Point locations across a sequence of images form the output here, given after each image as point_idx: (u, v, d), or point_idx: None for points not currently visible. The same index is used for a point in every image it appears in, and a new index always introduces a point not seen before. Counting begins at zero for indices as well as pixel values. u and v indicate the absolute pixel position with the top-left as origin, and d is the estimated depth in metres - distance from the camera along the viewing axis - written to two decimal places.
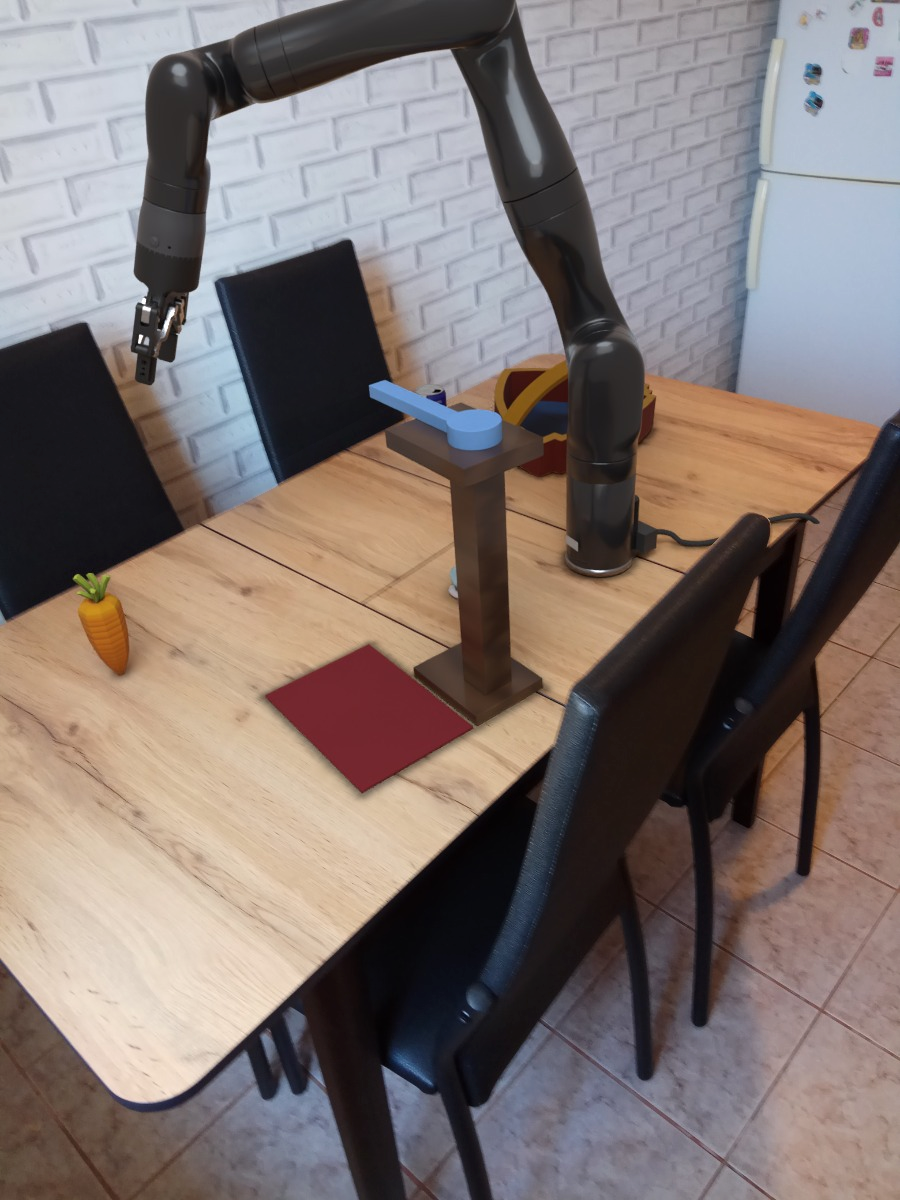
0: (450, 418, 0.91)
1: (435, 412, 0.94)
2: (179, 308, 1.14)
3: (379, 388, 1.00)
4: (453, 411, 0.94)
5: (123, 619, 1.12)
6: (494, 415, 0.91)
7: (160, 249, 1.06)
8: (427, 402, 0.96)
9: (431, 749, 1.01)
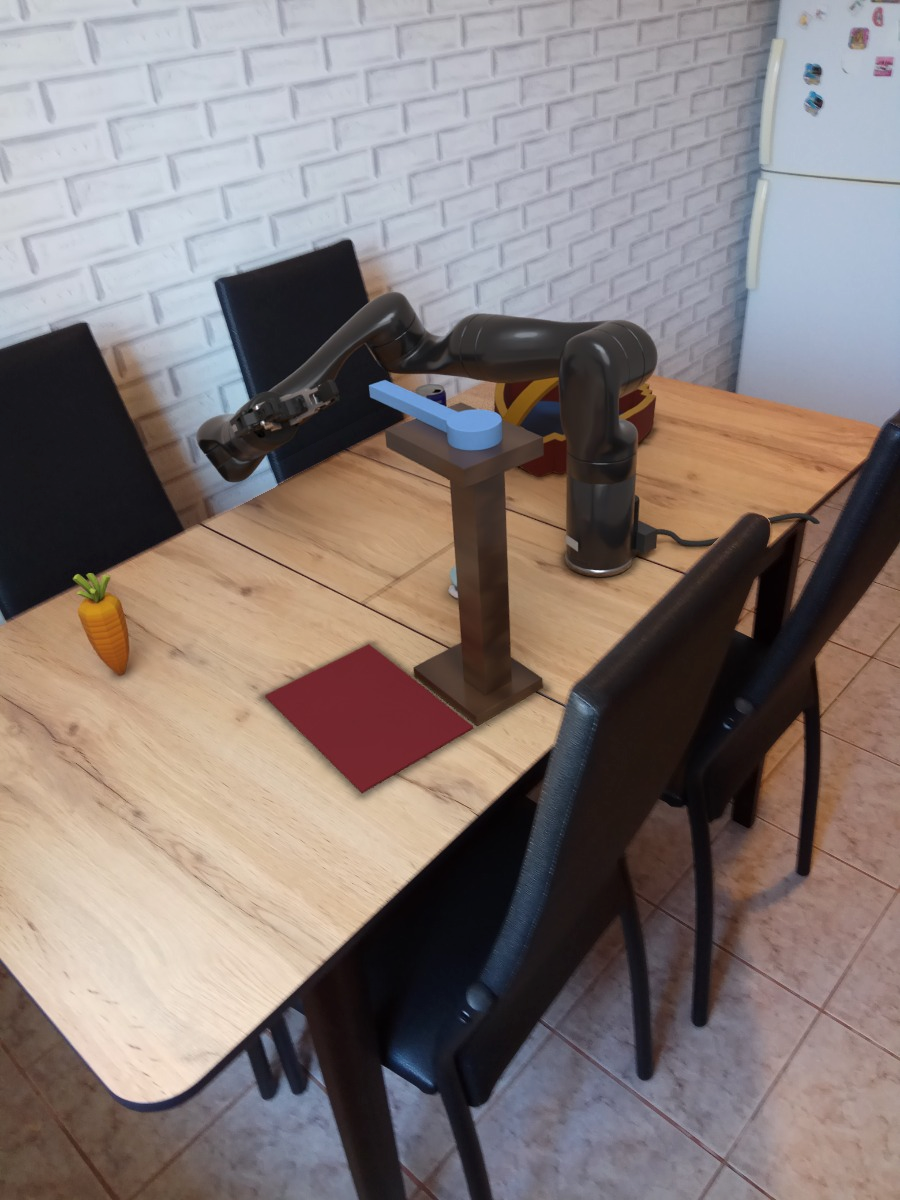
0: (450, 418, 0.91)
1: (435, 412, 0.94)
2: (282, 398, 1.25)
3: (379, 388, 1.00)
4: (453, 411, 0.94)
5: (123, 619, 1.12)
6: (494, 415, 0.91)
7: None
8: (427, 402, 0.96)
9: (431, 749, 1.01)
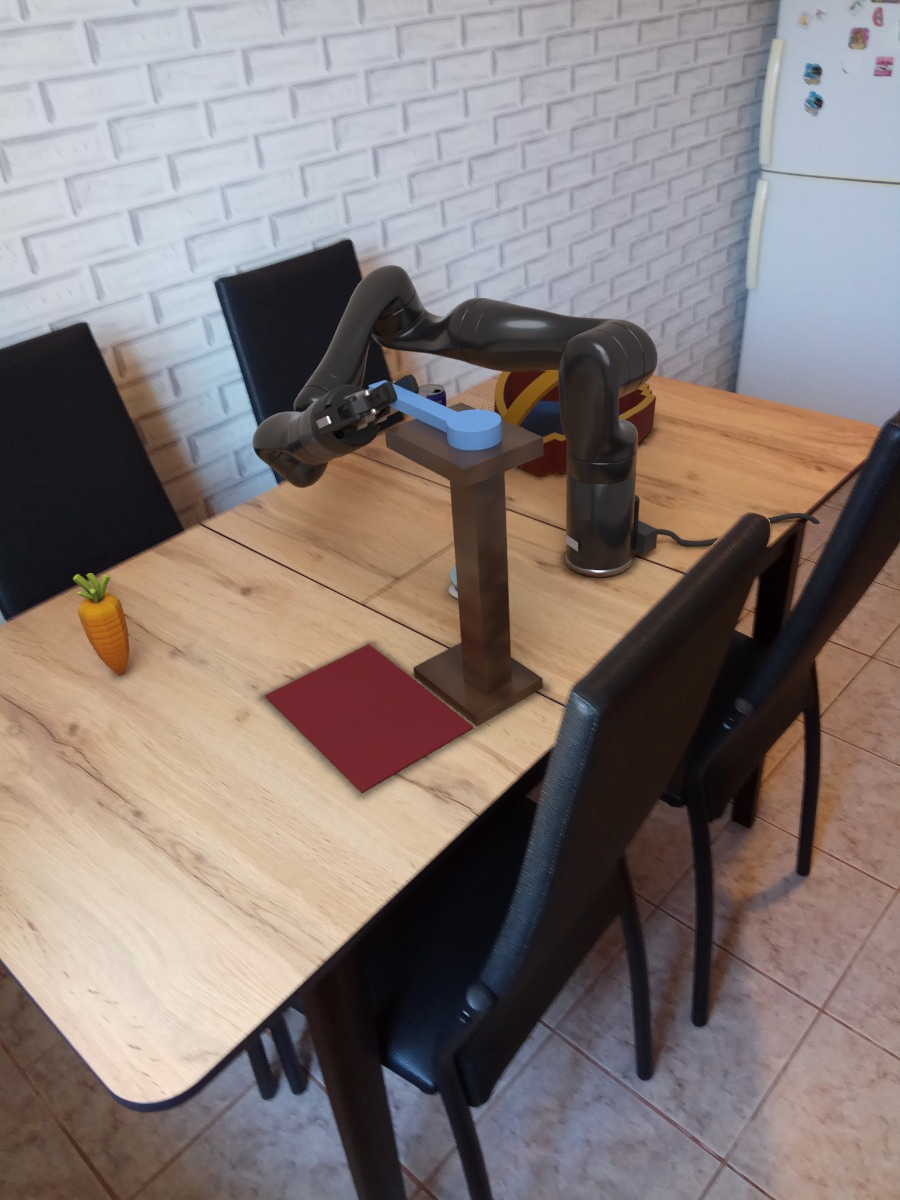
0: (450, 418, 0.91)
1: (435, 412, 0.94)
2: None
3: None
4: (453, 411, 0.94)
5: (123, 619, 1.12)
6: (493, 415, 0.91)
7: (311, 433, 1.11)
8: (427, 402, 0.96)
9: (431, 749, 1.01)
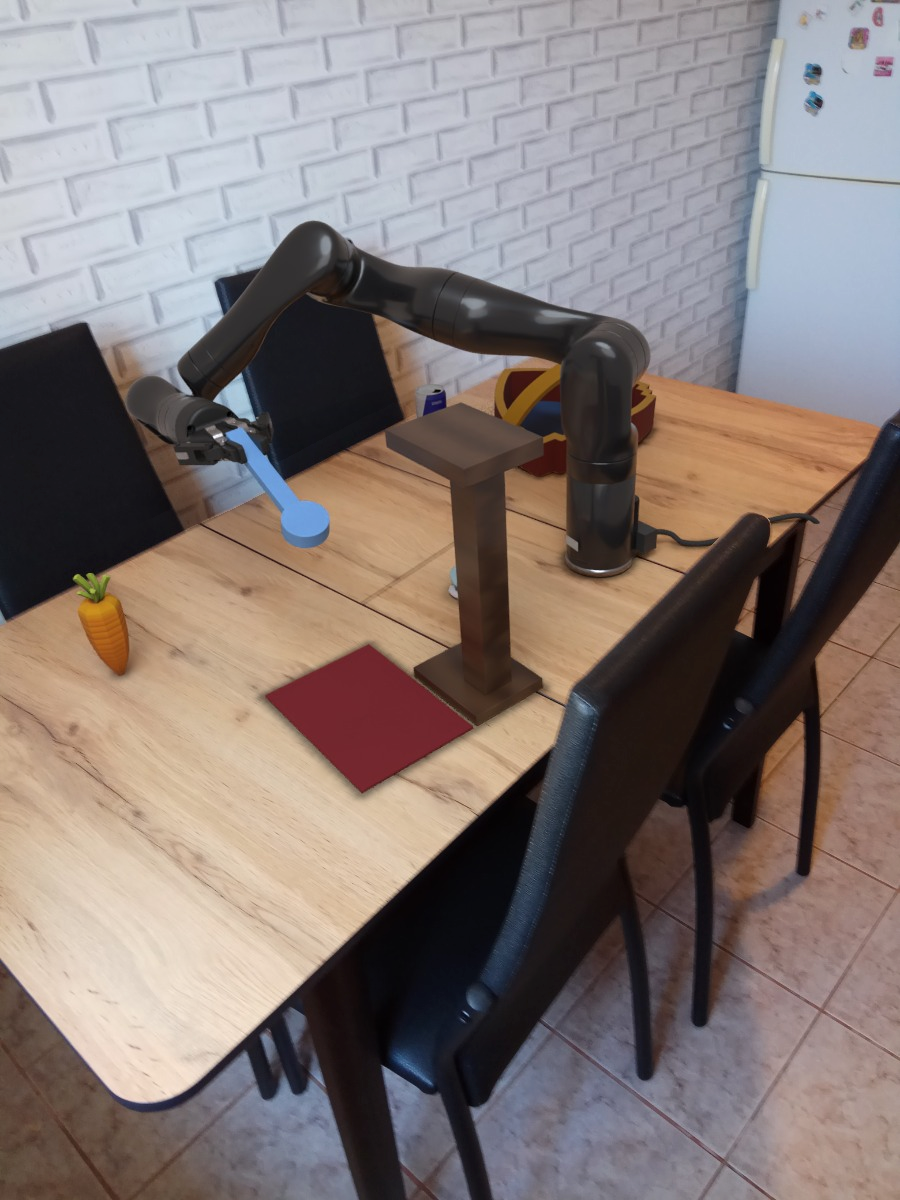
0: (285, 511, 1.04)
1: (276, 492, 1.06)
2: (223, 422, 1.16)
3: (234, 441, 1.10)
4: (292, 494, 1.06)
5: (123, 619, 1.12)
6: (324, 514, 1.04)
7: (175, 437, 1.21)
8: (272, 474, 1.08)
9: (431, 749, 1.01)
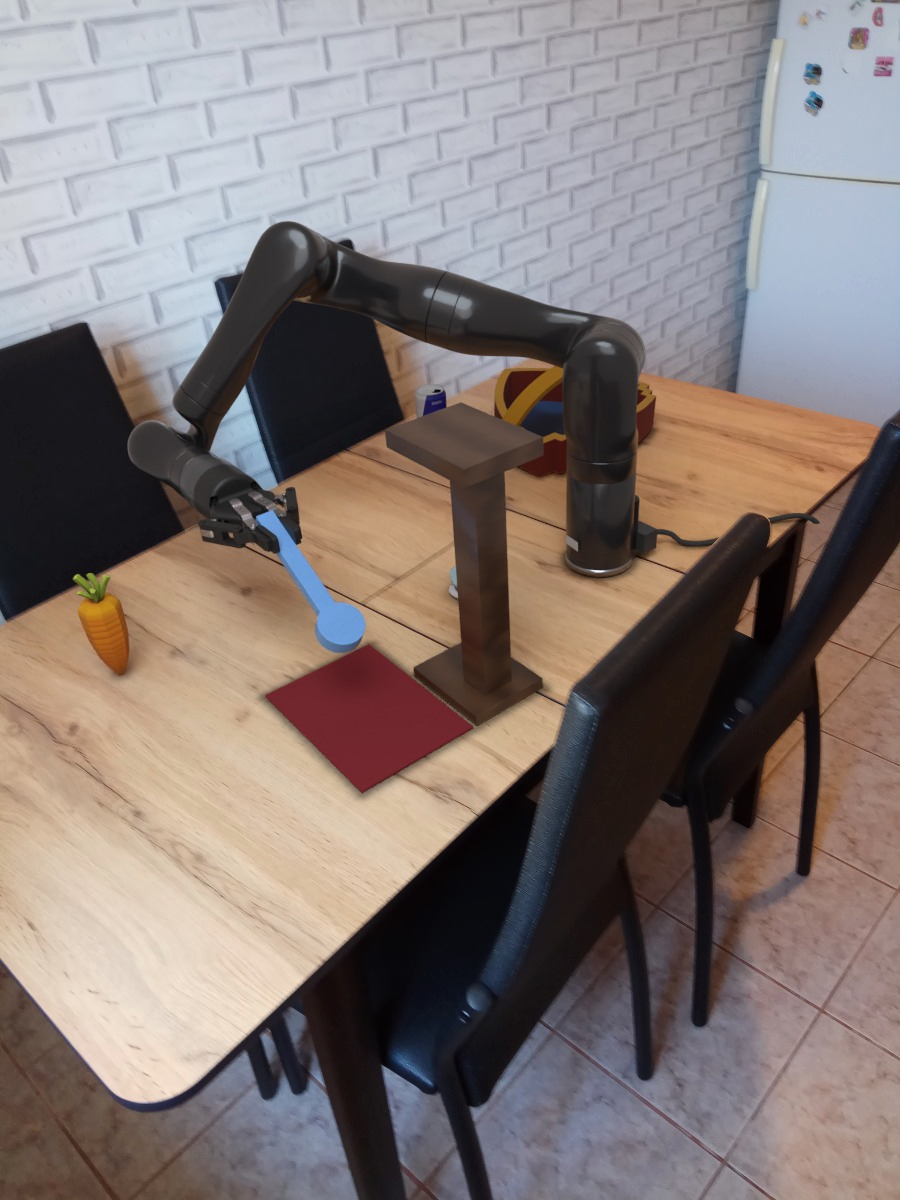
0: (321, 614, 1.03)
1: (310, 590, 1.05)
2: (249, 497, 1.12)
3: (265, 527, 1.07)
4: (326, 593, 1.05)
5: (123, 619, 1.12)
6: (360, 619, 1.04)
7: (192, 501, 1.16)
8: (305, 568, 1.06)
9: (431, 749, 1.01)
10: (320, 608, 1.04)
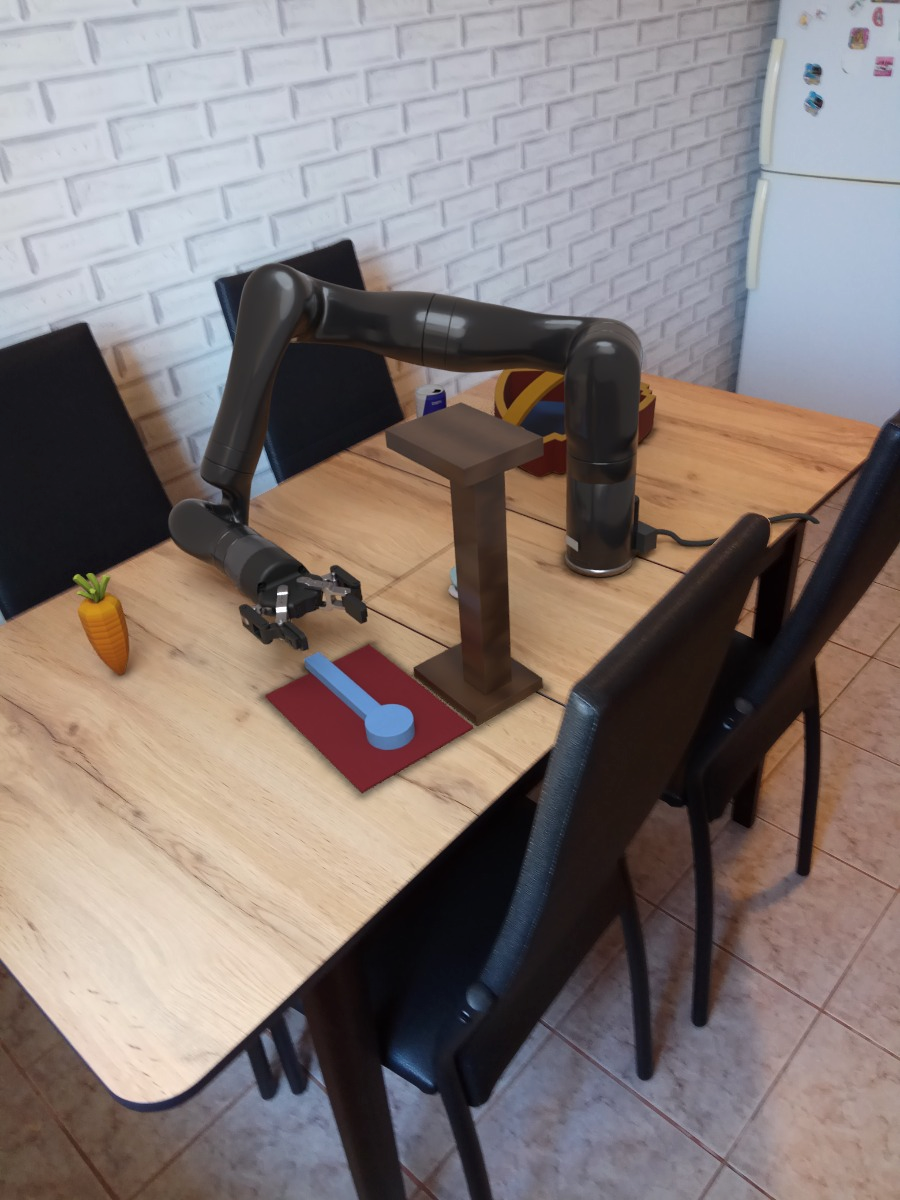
0: (368, 716, 1.03)
1: (358, 702, 1.06)
2: (300, 583, 1.10)
3: (312, 664, 1.13)
4: (373, 702, 1.06)
5: (123, 619, 1.12)
6: (407, 713, 1.03)
7: (238, 584, 1.14)
8: (352, 687, 1.09)
9: (431, 749, 1.01)
10: (368, 714, 1.04)
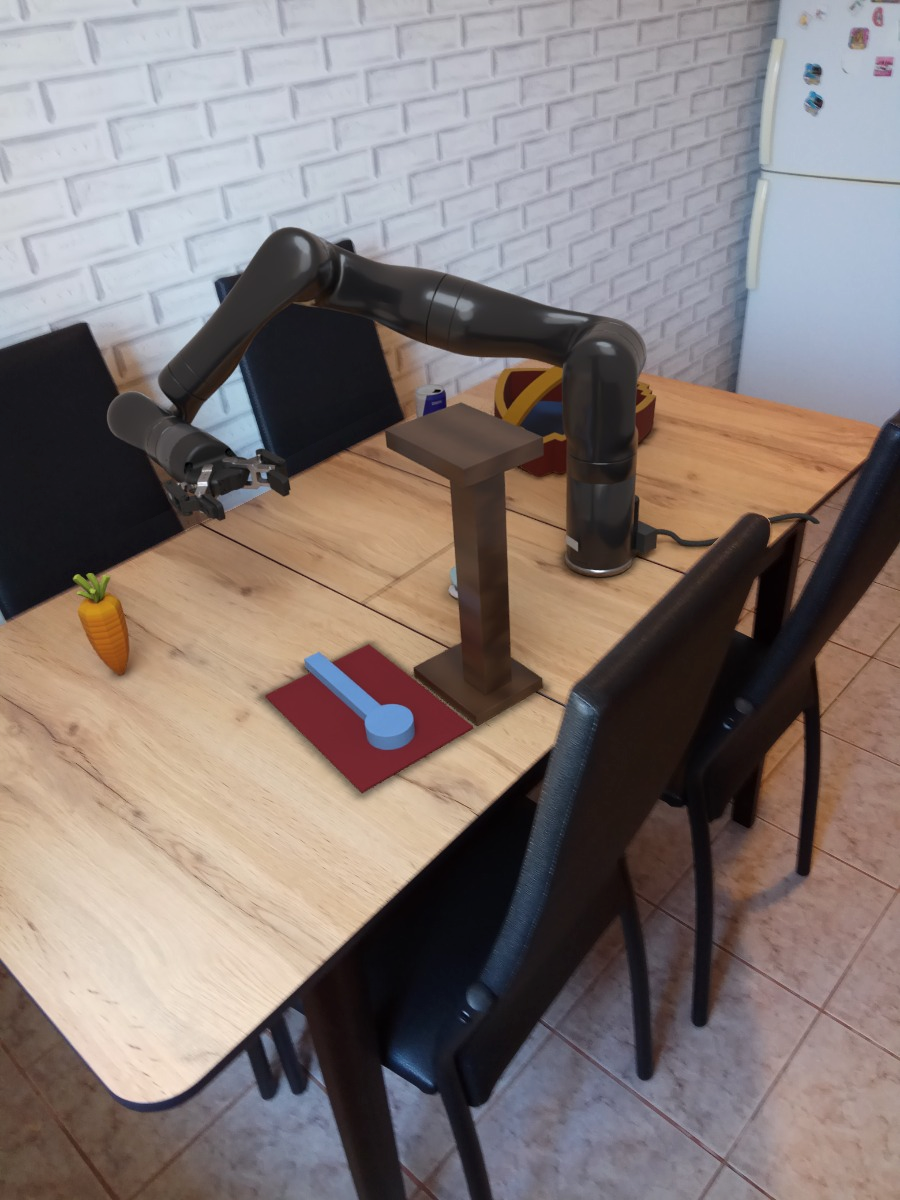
0: (368, 716, 1.03)
1: (358, 702, 1.06)
2: (225, 462, 1.15)
3: (312, 664, 1.13)
4: (373, 702, 1.06)
5: (123, 619, 1.12)
6: (407, 713, 1.03)
7: (168, 468, 1.19)
8: (352, 687, 1.09)
9: (431, 749, 1.01)
10: (368, 714, 1.04)
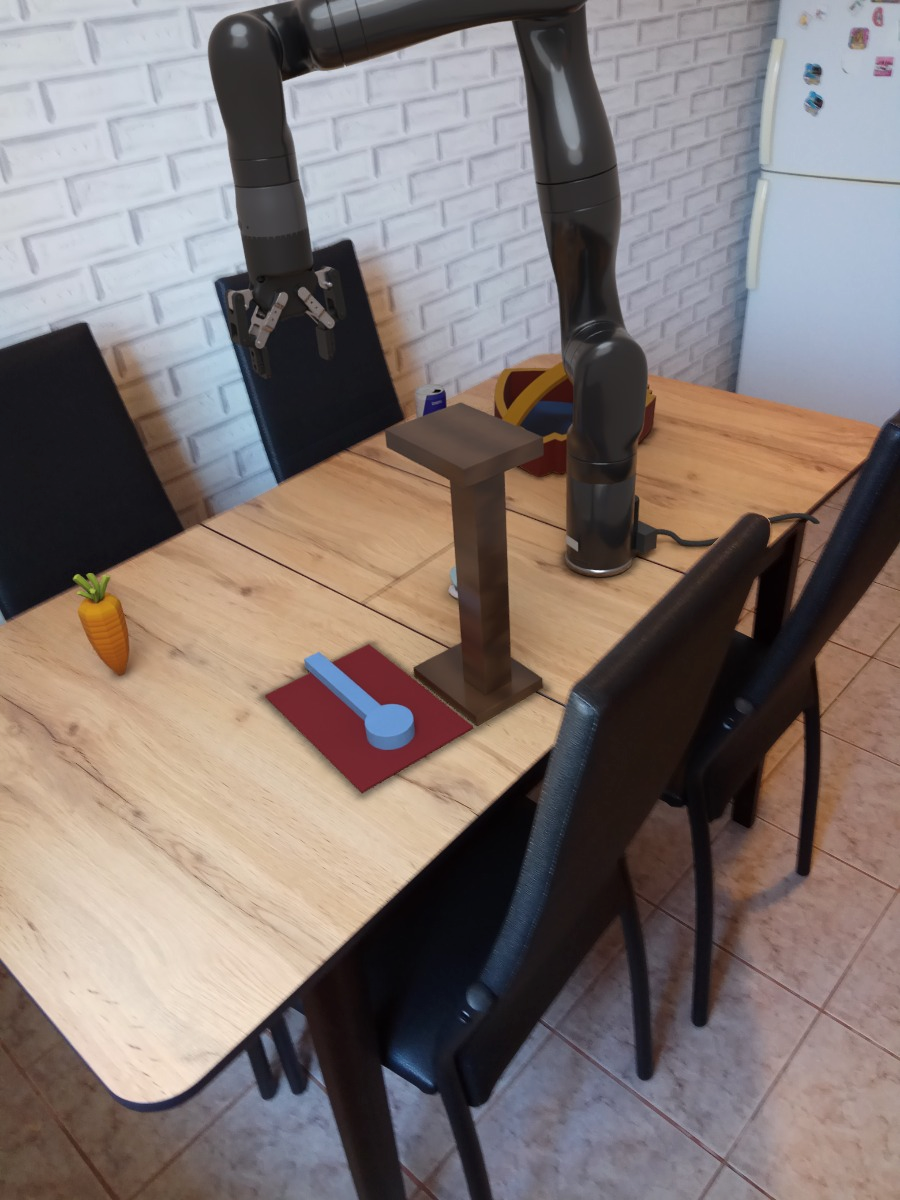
0: (368, 716, 1.03)
1: (358, 702, 1.06)
2: (299, 297, 1.06)
3: (312, 664, 1.13)
4: (373, 702, 1.06)
5: (123, 619, 1.12)
6: (407, 713, 1.03)
7: (243, 231, 1.01)
8: (352, 687, 1.09)
9: (431, 749, 1.01)
10: (368, 714, 1.04)
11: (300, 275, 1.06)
